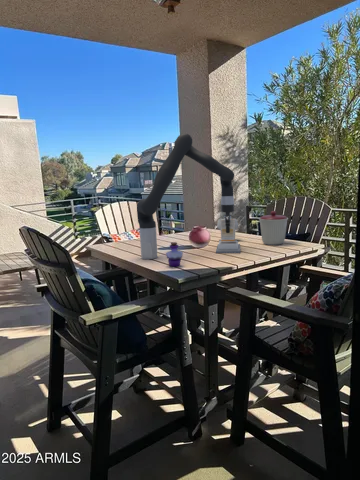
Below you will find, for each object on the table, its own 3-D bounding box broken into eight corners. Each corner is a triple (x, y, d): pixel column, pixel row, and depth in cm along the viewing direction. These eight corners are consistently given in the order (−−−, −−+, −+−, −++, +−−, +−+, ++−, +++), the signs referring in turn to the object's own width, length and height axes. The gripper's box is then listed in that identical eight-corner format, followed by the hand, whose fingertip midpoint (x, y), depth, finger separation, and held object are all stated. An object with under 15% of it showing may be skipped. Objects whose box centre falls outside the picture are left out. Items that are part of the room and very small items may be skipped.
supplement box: (235, 239, 212) (235, 218, 210) (234, 241, 207) (234, 219, 205) (222, 239, 214) (221, 218, 212) (220, 241, 210) (220, 219, 207)
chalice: (241, 242, 234) (240, 219, 231) (220, 243, 232) (220, 220, 230) (234, 238, 248) (234, 217, 245) (215, 239, 246) (215, 218, 243)
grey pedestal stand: (240, 253, 200) (240, 245, 199) (215, 253, 202) (215, 246, 201) (240, 245, 221) (240, 239, 220) (217, 246, 223) (217, 239, 223)
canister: (255, 245, 219) (255, 212, 216) (262, 240, 235) (262, 209, 232) (285, 247, 212) (286, 212, 208) (289, 241, 228) (290, 209, 224)
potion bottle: (174, 263, 183) (173, 240, 181) (186, 265, 177) (185, 241, 175) (162, 266, 177) (161, 243, 175) (175, 268, 171) (174, 244, 169)
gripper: (233, 204, 199) (234, 234, 202) (234, 202, 213) (234, 230, 216) (220, 204, 201) (221, 234, 203) (221, 203, 214) (222, 230, 217)
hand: (228, 232), depth 210 cm, fingers closed on supplement box, 5 cm apart
